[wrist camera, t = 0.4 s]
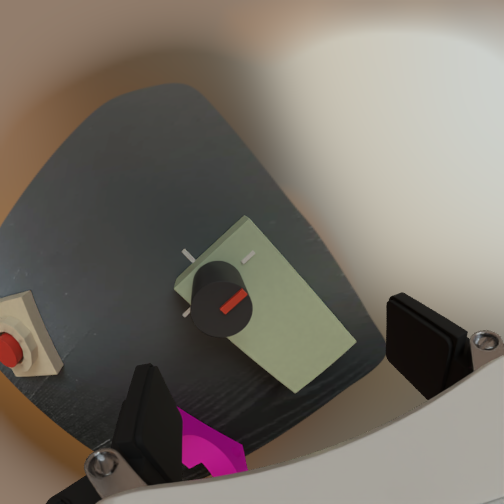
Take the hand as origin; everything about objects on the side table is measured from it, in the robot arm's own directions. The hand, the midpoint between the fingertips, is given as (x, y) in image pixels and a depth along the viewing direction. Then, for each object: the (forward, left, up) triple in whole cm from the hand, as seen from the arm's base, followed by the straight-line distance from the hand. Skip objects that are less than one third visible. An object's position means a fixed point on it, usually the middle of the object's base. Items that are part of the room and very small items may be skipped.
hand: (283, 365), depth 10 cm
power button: (+4, -28, -15) cm, 32 cm away
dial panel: (+6, +1, -18) cm, 19 cm away
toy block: (+23, -12, -19) cm, 32 cm away
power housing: (+4, -28, -18) cm, 33 cm away
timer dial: (+2, -2, -15) cm, 16 cm away
